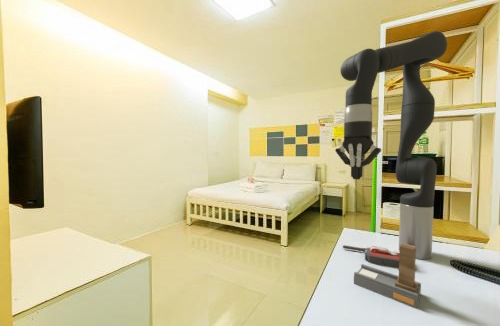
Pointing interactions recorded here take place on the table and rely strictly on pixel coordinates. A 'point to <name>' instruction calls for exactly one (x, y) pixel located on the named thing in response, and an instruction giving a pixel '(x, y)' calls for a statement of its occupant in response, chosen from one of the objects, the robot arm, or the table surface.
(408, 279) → the brown wooden block
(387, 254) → the walkie-talkie
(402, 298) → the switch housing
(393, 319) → the table surface
